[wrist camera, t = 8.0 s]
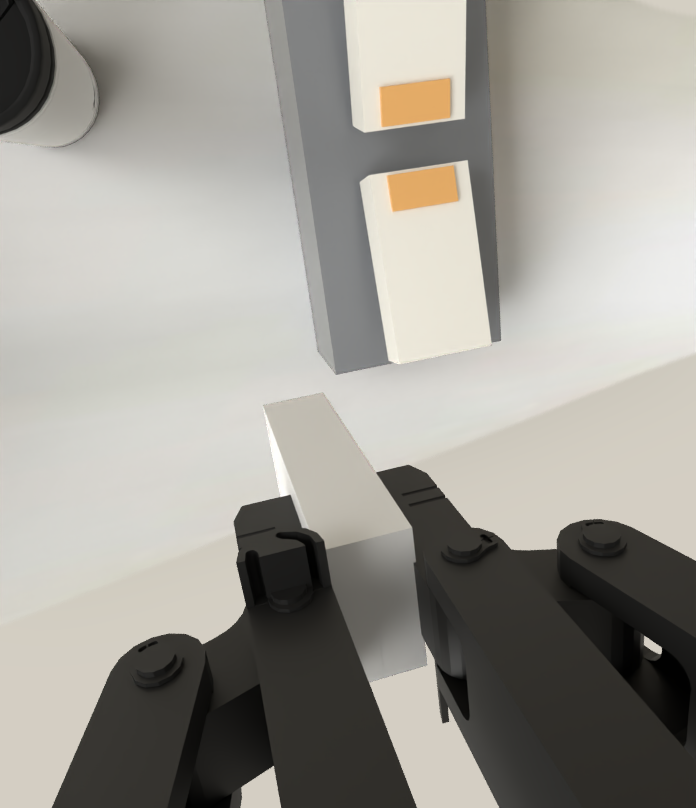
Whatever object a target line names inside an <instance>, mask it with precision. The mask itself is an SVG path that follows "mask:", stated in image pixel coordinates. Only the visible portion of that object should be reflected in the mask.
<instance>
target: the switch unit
mask: <svg viewBox="0 0 696 808" xmlns="http://www.w3.org/2000/svg"><path fill="white" fill-rule="evenodd" d="M264 3H265V10H266V16H267V23H268V29H269V36H270V42H271V49H272V55H273V62H274V68H275V75H276V81H277V88H278V94H279V101H280V107H281V114H282V120H283V127H284V133H285V140H286V146H287V153H288V159H289V166H290V172H291V179H292V185H293V192H294V198H295V205H296V211H297V218H298V224H299V231H300V237H301V244H302V250H303V257H304V263H305V270H306V276H307V283H308V289H309V296H310V302H311V309H312V315H313V322H314V328H315V335H316V341H317V348H318V352H319V353H320V355H321V356H322V357H323V359H324V360H325V361H326V362H327V364H328V365H329V366H330V368H331V369H332V370H333V371H334V373H335V374H336V375H337V374H342V373H347V372H352V371H357V370H362V369H366V368H371V367H376V366H381V365H386V364H391V363H394V362H391V361H389V360H388V354H387V348H386V342H385V335H384V329H383V323H382V317H381V311H380V305H379V299H378V293H377V286H376V280H375V274H374V268H373V262H372V256H371V250H370V243H369V237H368V231H367V225H366V219H365V213H364V207H363V201H362V194H361V188H360V181H362V180H363V179H365V178H366V177H367V176H369V175H373V174H380V173H386V172H393V171H399V170H406V169H413V168H419V167H426V166H432V165H439V164H446V163H452V162H459V161H465V160H468V168H469V175H470V183H471V191H472V198H473V206H474V213H475V221H476V229H477V236H478V244H479V251H480V259H481V267H482V274H483V282H484V289H485V297H486V305H487V312H488V320H489V327H490V335H491V343H492V342H497V341H501V329H500V307H499V285H498V264H497V242H496V220H495V199H494V177H493V155H492V133H491V112H490V90H489V68H488V47H487V25H486V3H485V0H466V62H465V119H459V120H452V121H445V122H437V123H430V124H423V125H416V126H409V127H402V128H394V129H387V130H380V131H373V132H366V133H364V132H362V131H361V130H359V129H357V128H355V127H354V126H353V123H352V109H351V95H350V81H349V68H348V54H347V40H346V26H345V12H344V0H264Z"/></svg>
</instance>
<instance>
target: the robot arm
mask: <svg viewBox="0 0 696 808" xmlns="http://www.w3.org/2000/svg"><path fill="white" fill-rule="evenodd" d="M263 409H264V415H265V420H266V425H267V430H268V435H269V441H270V446H271V451H272V456H273V461H274V467H275V472H276V477H277V482H278V487H279V493H280V497H279V498H274V499H270V500H266V501H262V502H258V503H253V504H249V505H245V506H242V507H241V509H240V511H239V512H238V514H237V516H236V518H235V520H234V526H235V532H236V538H237V544H238V549H239V552H238V557H237V562H236V563H237V568H238V572H239V577H240V581H241V585H242V590H243V594H244V598H245V602H246V607H245V609H244V612H243V614H242V615H241V617H240V618H239V619H238V621H237V622H236V623H235V624H234V625H233V626H232V627H231V628H230V629H228V630H227V631H226V632H224V633H222V634H221V635H219V636H218V637H216V638H214V639H212V640H211V641H208V642H207V643H205V644H203V645H202V644H201V643H200V641H199V640H198V639H196V638H194V637H191V636H189V635H186V634H166V635H161V636H157V637H153V638H150V639H148V640H146V641H144V642H142V643H140V644H138V645H136V646H135V647H133V648H132V649H131V650H129V651H128V652H127V653H126V654H125V655H124V656H122V657H121V658H120V659H119V660H118V662H117V663H116V665H115V666H114V668H113V669H112V671H111V672H110V675H109V677H108V679H107V682H106V684H105V686H104V688H103V691H102V693H101V696H100V698H99V700H98V702H97V705H96V707H95V709H94V712H93V714H92V717H91V719H90V721H89V723H88V726H87V728H86V730H85V732H84V735H83V737H82V739H81V742H80V744H79V746H78V749H77V751H76V753H75V755H74V758H73V760H72V762H71V765H70V767H69V769H68V772H67V774H66V776H65V779H64V781H63V783H62V785H61V788H60V790H59V792H58V795H57V797H56V799H55V802H54V804H53V806H52V808H240V806H241V800H242V795H241V794H242V793H241V787H242V786H243V785H245V784H246V783H248V782H249V781H251V780H252V779H254V778H256V777H257V776H259V775H260V774H262V773H263V772H265V771H266V770H268V769H269V768H271V767H272V766H274V769H275V774H276V780H277V786H278V792H279V797H280V803H281V808H417V807H416V804H415V801H414V799H413V796H412V794H411V791H410V788H409V786H408V783H407V781H406V778H405V775H404V773H403V770H402V768H401V765H400V762H399V760H398V757H397V755H396V752H395V750H394V747H393V744H392V742H391V739H390V737H389V734H388V731H387V728H386V726H385V723H384V721H383V718H382V715H381V713H380V710H379V708H378V705H377V703H376V700H375V697H374V695H373V692H372V689H371V687H370V684H369V682H372V681H376V680H379V679H382V678H386V677H389V676H393V675H396V674H399V673H403V672H406V671H409V670H412V669H416V668H419V667H423V666H426V665H427V658H426V649H425V642H426V644H427V646H428V648H429V649H430V651H431V653H432V655H433V657H434V659H435V667H436V677H437V687H438V697H439V706H440V713H441V718H442V723H446V722H449V716H448V707H449V709H450V711H451V713H452V714H453V717H454V719H455V721H456V722H457V725H458V727H459V728H460V730H461V732H462V734H463V736H464V738H465V740H466V742H467V744H468V746H469V748H470V750H471V752H472V754H473V756H474V758H475V760H476V762H477V764H478V766H479V768H480V770H481V772H482V774H483V776H484V778H485V780H486V782H487V784H488V786H489V788H490V790H491V792H492V794H493V796H494V798H495V800H496V802H497V804H498V806H499V808H696V561H695V560H693V559H691V558H689V557H687V556H685V555H683V554H682V553H680V552H678V551H676V550H674V549H672V548H670V547H668V546H666V545H664V544H662V543H661V542H659V541H657V540H655V539H653V538H651V537H649V536H647V535H645V534H643V533H641V532H640V531H638V530H636V529H634V528H632V527H629V526H627V525H624V524H621V523H619V522H615V521H608V520H602V519H594V520H583V521H579V522H576V523H572V524H570V525H568V526H567V527H565V528H564V529H563V530H561V531H560V534H559V536H558V538H557V549H551V550H531V551H526V550H525V551H524V550H523V551H522V550H511V549H510V548H509V547H508V545H507V544H506V543H505V542H504V541H503V540H502V539H501V538H499V537H498V536H497V535H495V534H494V533H492V532H489V531H486V530H483V529H480V528H471V527H470V525H469V524H468V523H467V522H466V520H464V518H463V517H462V516H461V514H460V513H459V512H458V511H457V510H456V508H455V507H454V506H453V505H452V503H451V502H450V501H449V500H448V499H447V498H445V495H444V494H443V492H442V491H441V490H440V489H439V488H437V485H436V484H435V483H434V481H433V480H432V479H431V478H430V477H429V475H428V474H427V473H425V472H423V471H421V470H419V469H417V468H414V467H412V466H410V465H406V466H402V467H397V468H393V469H389V470H385V471H380V472H375V470H374V469H373V467H372V466H371V464H370V463H369V461H368V460H367V458H366V457H365V455H364V454H363V452H362V451H361V449H360V448H359V446H358V445H357V443H356V442H355V440H354V439H353V437H352V436H351V434H350V433H349V431H348V430H347V428H346V426H345V425H344V423H343V422H342V420H341V419H340V417H339V416H338V414H337V413H336V411H335V410H334V408H333V407H332V405H331V404H330V402H329V401H328V399H327V398H326V396H325V395H324V393H319V394H314V395H309V396H305V397H300V398H295V399H291V400H286V401H281V402H276V403H272V404H267V405H263ZM644 636H646V637H648V638H649V639H650V640H652V641H653V642H655V643H656V644H658V645H659V646H661V647H662V654H657V653H655V652H653V651H651V650H650V649H649V648H647V647H646V646H644Z"/></svg>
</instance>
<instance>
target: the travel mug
mask: <svg viewBox="0 0 696 808" xmlns="http://www.w3.org/2000/svg"><path fill="white" fill-rule="evenodd" d="M98 108H99V90H98V86H97V82H96V79H95V77H94V74H93V72H92V70H91V68H90V67H89V65H88V64H87V62H86V61H85V59H84V58H83V57H82V56H81V54H80V53H79V52H78V51H77V50H76V48H75V47H74V46H73V45H72V44H71V42H70V41H69V40H68V39H67V38H66V37H65V35H64V34H63V33H62V32H61V31H60V29H59V28H58V27H57V26H56V25H55V23H54V22H53V21H52V20H51V19H50V17H49V16H48V15H47V14H46V13H45V11H44V10H43V9H42V8H41V7H40V5H39V4H38V3H37V2H36V1H35V0H0V141H2V142H10V143H17V144H25V145H32V146H40V147H52V148H55V147H63V146H66V145H69V144H72V143H74V142H76V141H78V140H79V139H81V138H82V137H83V136H84V135H85V134H86V133H87V132H88V131H89V130H90V128H91V127H92V125H93V124H94V122H95V119H96V116H97V114H98Z"/></svg>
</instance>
